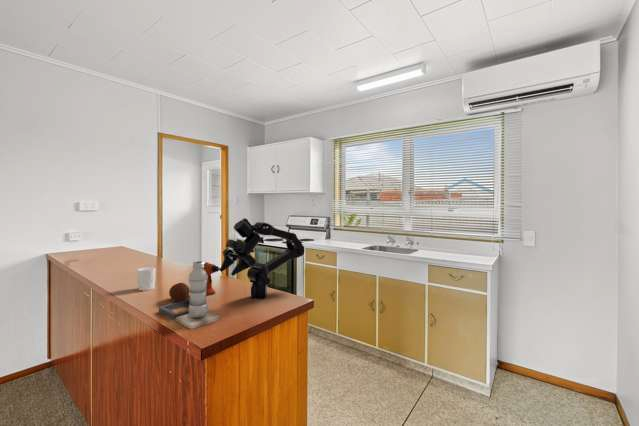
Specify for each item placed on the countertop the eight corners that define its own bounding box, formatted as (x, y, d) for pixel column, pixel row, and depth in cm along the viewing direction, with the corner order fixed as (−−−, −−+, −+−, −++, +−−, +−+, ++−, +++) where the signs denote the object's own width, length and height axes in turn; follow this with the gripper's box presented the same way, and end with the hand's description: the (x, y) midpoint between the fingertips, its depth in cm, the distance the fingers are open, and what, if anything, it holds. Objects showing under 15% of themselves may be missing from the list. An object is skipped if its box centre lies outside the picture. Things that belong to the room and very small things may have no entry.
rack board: (203, 312, 116) (203, 309, 116) (219, 319, 109) (219, 316, 109) (175, 320, 108) (175, 317, 108) (191, 329, 101) (191, 325, 101)
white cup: (158, 288, 148) (158, 268, 148) (142, 292, 141) (142, 271, 141) (150, 285, 152) (150, 266, 152) (134, 289, 146) (134, 269, 145)
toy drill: (219, 298, 130) (217, 263, 131) (199, 294, 143) (198, 262, 144) (229, 295, 133) (227, 262, 134) (209, 292, 146) (207, 261, 147)
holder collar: (189, 304, 126) (189, 299, 126) (205, 310, 118) (205, 305, 118) (158, 312, 116) (158, 306, 116) (174, 320, 108) (174, 314, 108)
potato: (181, 295, 137) (181, 278, 137) (195, 301, 130) (195, 282, 130) (164, 299, 131) (164, 281, 131) (178, 305, 124) (178, 286, 124)
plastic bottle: (201, 320, 105) (202, 264, 104) (184, 319, 106) (184, 263, 106) (211, 314, 111) (211, 261, 111) (194, 313, 112) (195, 260, 112)
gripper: (226, 230, 135) (202, 258, 127) (250, 234, 122) (225, 264, 114) (241, 246, 141) (219, 273, 133) (265, 251, 128) (242, 281, 120)
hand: (226, 273), depth 125 cm, fingers open, 9 cm apart
